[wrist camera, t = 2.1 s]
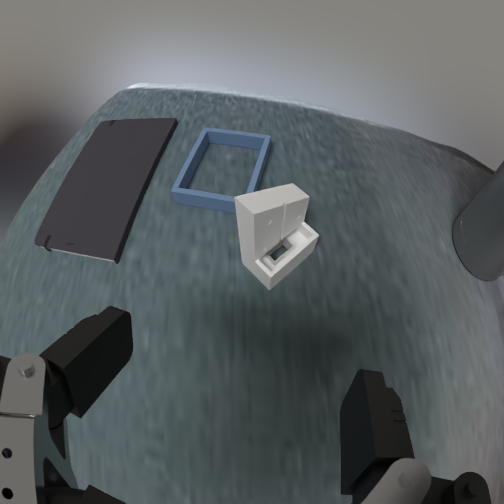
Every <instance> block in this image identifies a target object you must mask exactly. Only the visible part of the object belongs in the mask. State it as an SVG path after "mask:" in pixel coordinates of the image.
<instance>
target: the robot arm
mask: <svg viewBox="0 0 504 504" xmlns="http://www.w3.org/2000/svg"><path fill="white" fill-rule="evenodd" d="M453 241H454V245H455V248H456V251H457V253H458V255H459V257H460V259H461V261H462V262H463V264H464V265H465V267H466V268H467V269H468V270H469V271H470V272H471V273H472V274H473V275H475V276H476V277H478V278H479V279H481V280H485V281H493V280H495V279H497V278H498V277H500V276H501V275H504V161H503V162H502V164H501V165H500V166H499V168H498V169H497V170H496V171H495V173H494V174H493V175H492V177H491V178H490V179H489V180H488V182H487V183H486V184H485V186H484V187H483V188H482V189H481V190H480V192H479V193H478V194H477V195H476V197H475V198H474V199H473V200H472V201H471V202H470V204H469V205H468V206H467V207H466V208H465V210H464V211H463V212H462V213H461V214H460V215H459V216H458V218H457V219H456V220H455V222H454V225H453ZM132 352H133V338H132V323H131V315H130V313H129V312H127V311H124V310H121V309H118V308H116V307H113V306H109V307H107V308H106V309H105V310H104V311H102V312H101V313H100V314H99V315H96V314H95V315H93V316H90V317H87V318H85V319H83V320H81V321H80V322H79V323H78V324H76V325H75V326H74V328H72V329H70V330H69V331H68V332H67V334H64V335H63V336H62V337H60V338H59V339H58V340H57V341H56V342H54V343H53V344H52V345H51V346H50V347H48V348H47V349H46V350H45V351H44V352H42V353H41V354H40V355H39V356H38V355H36V354H32V353H24V354H20V355H18V356H16V357H14V358H13V359H10V358H6V357H3V356H0V504H126V503H125V502H122V501H120V500H118V499H116V498H114V497H112V496H110V495H108V494H106V493H104V492H102V491H101V490H99V489H97V488H95V487H93V486H91V485H90V484H89V486H88V487H87V489H86V490H81V489H78V485H77V482H76V478H75V476H74V473H73V471H72V468H71V463H70V454H69V444H68V430H67V420H66V416H67V415H68V414H69V413H70V412H71V413H72V414H74V415H76V416H77V417H79V418H82V417H83V415H84V414H85V413H86V412H87V410H88V409H89V408H90V407H91V406H92V404H93V403H94V402H95V401H96V400H97V398H98V397H99V396H100V395H101V393H102V392H103V391H104V390H105V389H106V387H107V386H108V385H109V384H110V383H111V382H112V380H113V379H114V378H115V377H116V376H117V374H118V373H119V372H120V371H121V370H122V368H123V367H124V366H125V365H126V364H127V363H128V361H129V360H130V358H131V355H132ZM405 421H406V419H405V415H404V413H403V407H402V403H401V400H400V398H399V396H398V395H397V394H396V392H395V391H394V390H393V388H388V387H386V385H385V381H384V377H383V374H382V372H378V371H371V370H363V369H360V370H359V371H358V372H357V374H356V376H355V378H354V380H353V382H352V384H351V386H350V388H349V390H348V392H347V394H346V396H345V398H344V400H343V403H342V406H341V410H340V435H341V495H352V503H351V504H491V499H490V494H489V490H488V486H487V483H486V481H485V480H484V478H483V477H482V476H480V475H479V474H477V473H474V472H466V473H463V474H461V475H460V476H459V477H458V478H457V479H455V480H454V481H452V480H446V479H441V478H437V477H433V476H431V474H430V472H429V470H428V468H427V467H426V466H425V465H424V464H423V463H422V462H420V461H418V460H415V458H414V453H413V448H412V444H411V440H410V435H409V431H408V427H407V423H405Z"/></svg>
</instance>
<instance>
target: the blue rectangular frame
mask: <svg viewBox="0 0 504 504" xmlns="http://www.w3.org/2000/svg"><path fill="white" fill-rule="evenodd" d="M209 143H215V144H223V145H231V146H238V147H245V148H252V149H258V150H261V151H260V154H259V157H258V160H257V163H256V166H255V169H254V172H253V175H252V178H251V181H250V184H249V187H248V190H247V193H246V194H248V193H252V192H256V191H258V187H259V184H260V181H261V178H262V174H263V171H264V168H265V165H266V161H267V158H268V155H269V152H270V148H271V136H268V135H262V134H255V133H248V132H241V131H233V130H224V129H215V128H205V127H204V129H203V130H202V132H201V134H200V136H199V138H198V139H197V141H196V143H195V145H194V147H193V149H192V150H191V152H190V154H189V156H188V158H187V160H186V162H185V164H184V166H183V168H182V170H181V172H180V174H179V176H178V178H177V179H176V182H175V184H174V186H173V188H172V190H171V193H172V196H173V199H174V201H175V203H180V204H185V205H191V206H197V207H202V208H208V209H213V210H218V211H224V212H229V213H234V214H236V207H235V199H234V197H232V196H226V195H221V194H215V193H209V192H203V191H197V190H190V189H187V187H188V185H189V183H190V181H191V179H192V177H193V175H194V173H195V170H196V168H197V166H198V164H199V162H200V160H201V158H202V156H203V154H204V152H205V150H206V148H207V146H208V144H209Z"/></svg>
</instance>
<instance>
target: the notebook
mask: <svg viewBox="0 0 504 504" xmlns="http://www.w3.org/2000/svg"><path fill="white" fill-rule="evenodd" d="M177 124H178V123H177V119H176V118H151V119H126V120H111V121H104V122H101V123H100V124H99V125H98V127H97V128H96V130H95V131H94V133H93V134H92V136H91V137H90V139H89V140H88V142H87V143H86V145H85V146H84V148H83V149H82V151H81V152H80V154H79V156H78V157H77V159H76V161H75V162H74V164H73V165H72V167H71V169H70V171H69V172H68V174H67V176H66V178H65V179H64V181H63V183H62V185H61V186H60V188H59V190H58V192H57V194H56V196H55V198H54V200H53V202H52V204H51V206H50V208H49V210H48V212H47V214H46V216H45V218H44V220H43V222H42V224H41V226H40V228H39V231H38V233H37V235H36V238H35V244H36V245H38V246H41V247H42V248H45V249H47V250H48V251H50V250H49V249H51V250H56V251H61V252H66V253H71V254H76V255H82V256H87V257H92V258H97V259H103V260H108V261H114V262H115V263H116V264H118V262H119V259H120V256H121V253H122V251H123V248H124V245H125V242H126V239H127V237H128V234H129V231H130V229H131V226H132V224H133V221H134V218H135V216H136V213H137V211H138V208H139V206H140V204H141V201H142V199H143V196H144V194H145V192H146V189H147V187H148V185H149V182H150V180H151V178H152V176H153V173H154V171H155V169H156V167H157V165H158V162H159V160H160V158H161V156H162V154H163V152H164V150H165V148H166V146H167V144H168V142H169V140H170V138H171V136H172V134H173V132H174V130H175V128H176V126H177Z"/></svg>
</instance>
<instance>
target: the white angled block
mask: <svg viewBox="0 0 504 504" xmlns="http://www.w3.org/2000/svg"><path fill="white" fill-rule="evenodd" d="M309 198H310V197H309V196H308V195H307V194H305V193H304V192H303V191H302V190H301V189H299V188H298V187H297V186H296V185H294V184H293V183H292V184H287V185H283V186H278V187H274V188H269V189H265V190H261V191H256V192H252V193H248V194H244V195H240V196H236V197H234V199H235V207H236V215H237V224H238V232H239V240H240V248H241V257H242V263H243V264H244V265H245V266H246V267H247V268H248V269H249V270H250V271H251V272H252V273H253V274H254V275H255V276H256V277H257V278H258V279H259V280H260V281H261V283H262V284H263V285H264V286H265V287H266V288H267V289H268V290H271V289H272V288H273V287H274V286H275V285H276V284H277V283H279V282H280V281H281V280H282V279H283V278H284V277H285V276H286V275H288V274H289V273H290V272H291V271H292V270H293V269H294V268H295V267H297V266H298V265H299V264H300V263H301V262H302V261H303V260H304V259H306V258H307V257H308V256H309V255H310V254H311V253H312V252H313V251H314V248H315V245H316V243H317V240H318V237H319V234H317V233H316V232H315V231H314V230H313V229H312V228H311V227H310V226H308V225H307V224H306V223H305V222H304V219H305V215H306V211H307V206H308V202H309ZM282 245H283V246H284V247H286V248H287V249H288V250H287V251H286V252H285V253H284V254H283V255H281V256H280V257H279V258H278V259H277V260H276V261H274V260H273V259H272V258H271V257H270V255H271V254H273V253H274V252H275V251H276V250H277V249H279V248H280V247H281V246H282Z"/></svg>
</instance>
